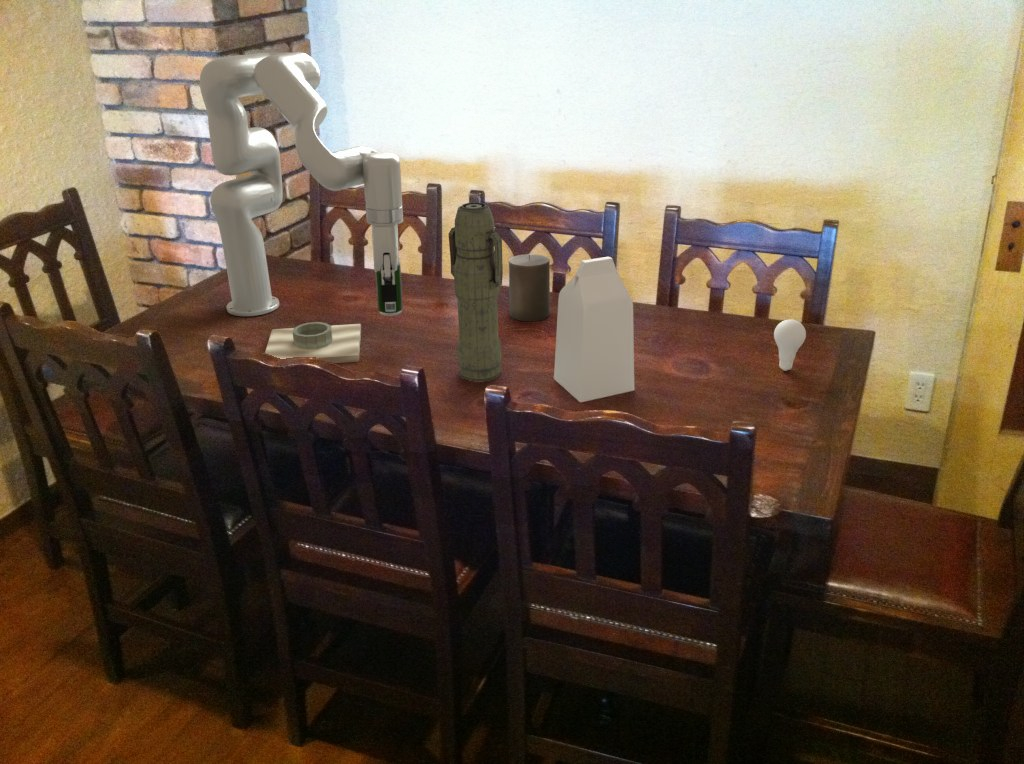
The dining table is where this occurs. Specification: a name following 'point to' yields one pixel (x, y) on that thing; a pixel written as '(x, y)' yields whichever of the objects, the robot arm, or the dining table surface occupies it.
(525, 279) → the pillar candle
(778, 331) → the lightbulb
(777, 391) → the dining table surface
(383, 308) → the beer can
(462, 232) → the thermos
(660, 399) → the dining table surface
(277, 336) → the carrier plate
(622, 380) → the milk
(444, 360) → the dining table surface
